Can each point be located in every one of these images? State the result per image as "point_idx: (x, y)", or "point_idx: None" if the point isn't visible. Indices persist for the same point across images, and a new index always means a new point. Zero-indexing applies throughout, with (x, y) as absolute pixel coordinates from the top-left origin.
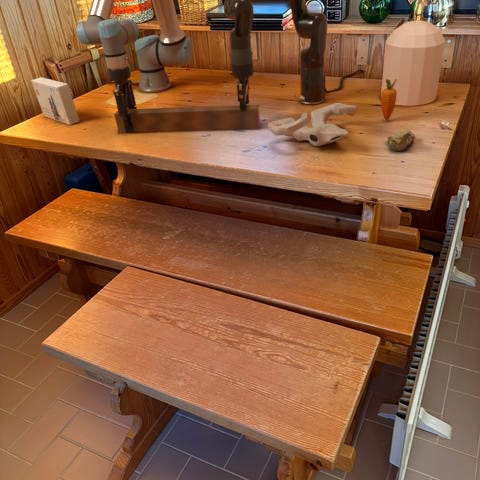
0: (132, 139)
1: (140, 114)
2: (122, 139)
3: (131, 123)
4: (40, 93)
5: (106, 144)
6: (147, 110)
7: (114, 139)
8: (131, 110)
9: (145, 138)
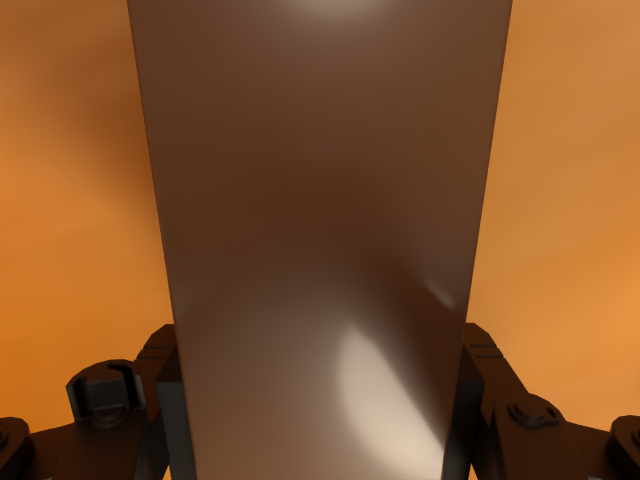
0: (582, 201)
1: (479, 166)
2: (551, 305)
3: None
4: None
5: (633, 403)
6: (303, 19)
7: (530, 375)
8: (272, 417)
9: (598, 44)
